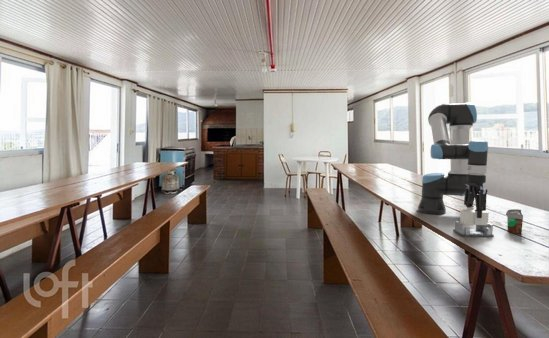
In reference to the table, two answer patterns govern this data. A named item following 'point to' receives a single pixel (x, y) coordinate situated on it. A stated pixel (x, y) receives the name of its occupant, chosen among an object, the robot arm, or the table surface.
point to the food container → (514, 221)
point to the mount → (474, 230)
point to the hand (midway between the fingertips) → (473, 222)
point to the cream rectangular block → (472, 217)
